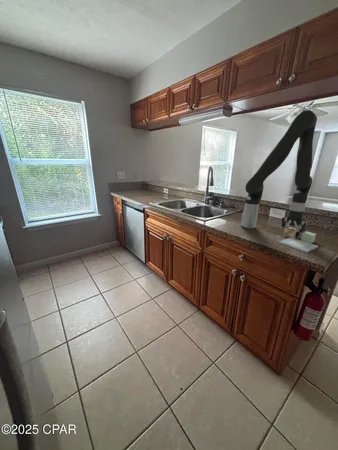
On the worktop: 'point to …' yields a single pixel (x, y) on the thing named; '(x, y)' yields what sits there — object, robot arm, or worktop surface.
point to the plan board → (298, 244)
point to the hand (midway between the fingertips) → (290, 235)
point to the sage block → (308, 237)
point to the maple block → (290, 232)
